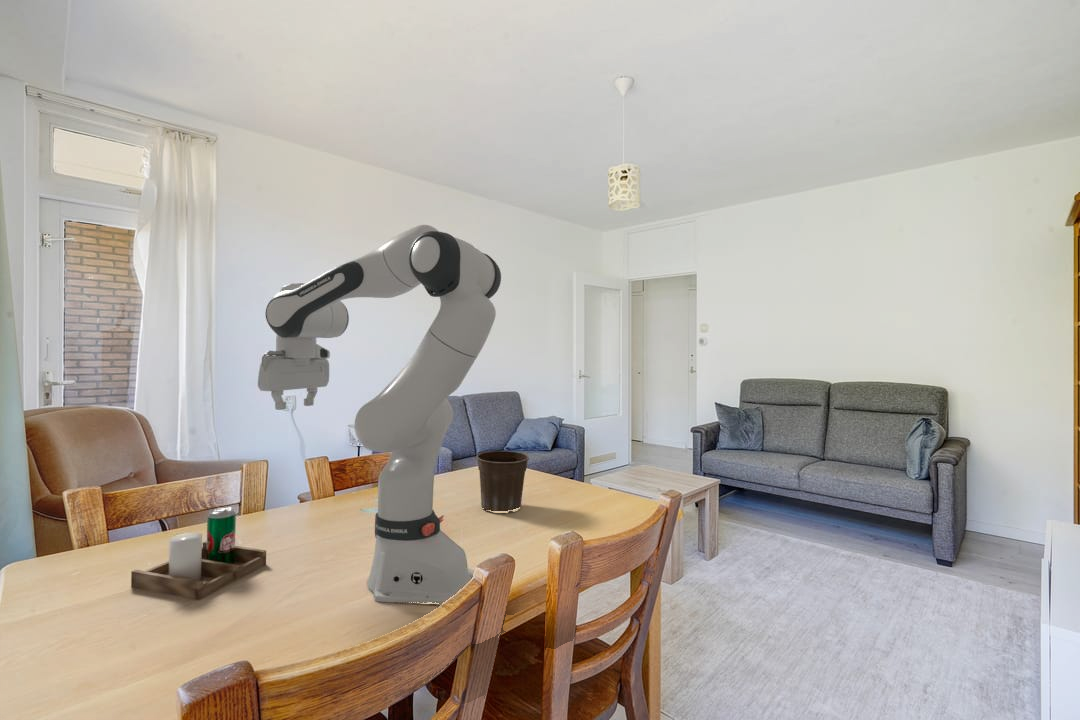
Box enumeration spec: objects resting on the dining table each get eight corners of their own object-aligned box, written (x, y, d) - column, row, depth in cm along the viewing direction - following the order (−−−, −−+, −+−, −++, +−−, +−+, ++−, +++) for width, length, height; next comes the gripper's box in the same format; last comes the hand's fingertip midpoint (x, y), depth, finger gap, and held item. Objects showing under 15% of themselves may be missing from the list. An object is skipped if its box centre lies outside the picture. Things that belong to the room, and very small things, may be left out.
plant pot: (526, 517, 144) (528, 462, 144) (471, 515, 144) (472, 460, 144) (528, 501, 160) (530, 451, 160) (478, 499, 161) (480, 449, 160)
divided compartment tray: (265, 569, 106) (266, 550, 106) (198, 606, 90) (198, 583, 90) (205, 560, 110) (205, 541, 110) (131, 593, 94) (131, 571, 94)
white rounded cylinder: (207, 579, 98) (208, 534, 98) (183, 591, 93) (184, 544, 93) (186, 575, 99) (187, 531, 99) (161, 587, 94) (162, 540, 94)
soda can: (222, 572, 101) (224, 514, 101) (200, 570, 102) (201, 513, 101) (240, 562, 106) (241, 506, 106) (218, 560, 107) (219, 505, 106)
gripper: (274, 350, 110) (273, 413, 110) (334, 351, 130) (333, 404, 130) (251, 350, 111) (249, 411, 112) (313, 351, 131) (312, 403, 131)
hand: (295, 407), depth 121 cm, fingers open, 8 cm apart
